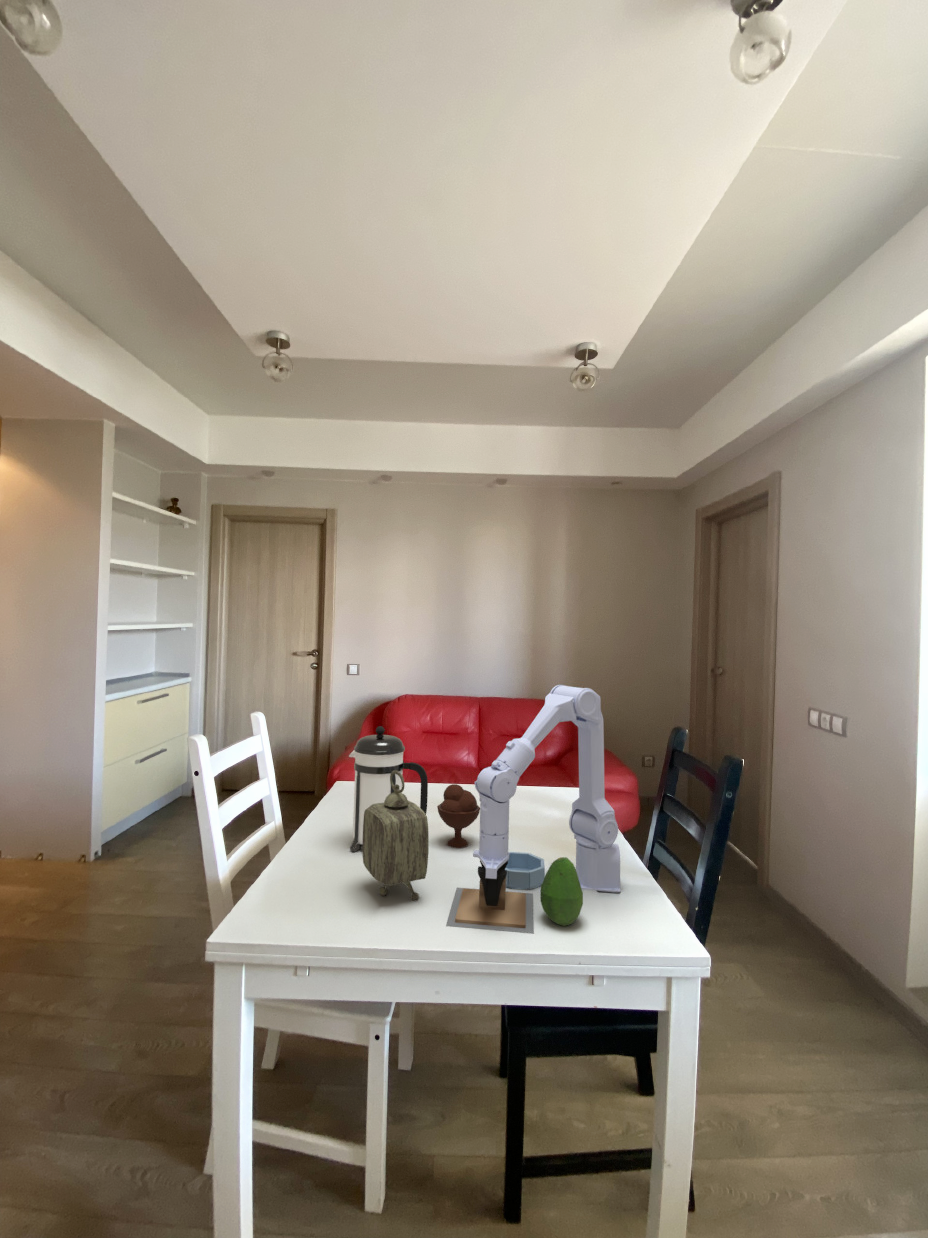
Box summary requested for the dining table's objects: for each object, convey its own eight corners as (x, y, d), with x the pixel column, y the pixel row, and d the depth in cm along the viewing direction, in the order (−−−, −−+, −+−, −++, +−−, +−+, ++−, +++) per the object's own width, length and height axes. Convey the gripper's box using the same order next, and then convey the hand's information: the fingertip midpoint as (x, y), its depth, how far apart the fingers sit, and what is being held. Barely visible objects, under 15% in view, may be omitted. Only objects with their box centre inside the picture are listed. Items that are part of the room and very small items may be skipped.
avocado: (576, 913, 110) (578, 850, 110) (586, 934, 102) (588, 867, 102) (536, 912, 110) (537, 850, 110) (543, 933, 102) (544, 866, 102)
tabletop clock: (427, 903, 112) (430, 777, 113) (384, 913, 107) (388, 782, 108) (398, 875, 125) (401, 762, 125) (359, 883, 120) (363, 766, 121)
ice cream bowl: (442, 853, 138) (444, 792, 138) (432, 837, 149) (434, 780, 149) (483, 850, 141) (485, 790, 141) (471, 835, 151) (472, 779, 152)
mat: (532, 895, 117) (532, 893, 117) (533, 935, 101) (533, 933, 101) (456, 889, 119) (456, 887, 119) (445, 928, 103) (445, 926, 103)
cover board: (525, 896, 115) (526, 868, 116) (525, 928, 102) (526, 897, 103) (462, 891, 117) (463, 864, 117) (455, 922, 104) (455, 892, 104)
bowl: (543, 871, 129) (543, 854, 129) (544, 893, 118) (545, 873, 118) (495, 868, 130) (495, 850, 130) (492, 889, 119) (493, 870, 119)
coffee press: (367, 862, 131) (371, 733, 132) (336, 842, 144) (340, 724, 144) (427, 846, 142) (431, 727, 143) (393, 829, 155) (397, 719, 156)
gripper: (477, 817, 118) (475, 883, 117) (470, 842, 103) (468, 917, 103) (510, 819, 117) (509, 885, 117) (508, 845, 103) (506, 920, 102)
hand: (492, 901), depth 110 cm, fingers closed on cover board, 3 cm apart
